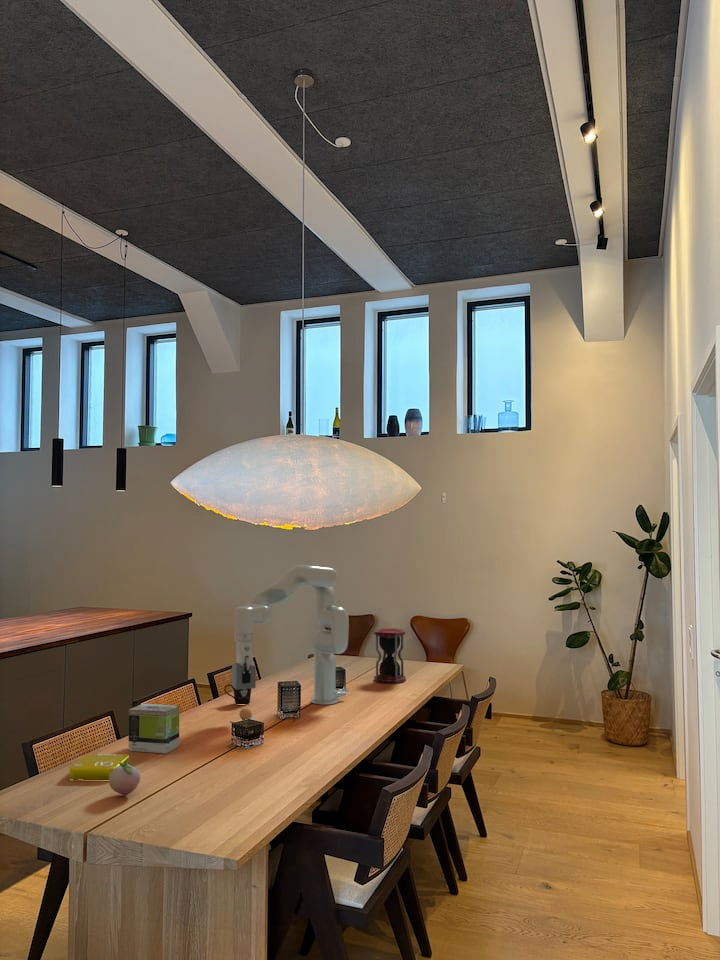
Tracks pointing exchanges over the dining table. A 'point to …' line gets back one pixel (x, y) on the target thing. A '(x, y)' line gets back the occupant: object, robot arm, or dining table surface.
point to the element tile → (96, 766)
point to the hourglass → (389, 656)
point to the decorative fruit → (124, 778)
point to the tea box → (154, 728)
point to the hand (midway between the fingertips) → (243, 680)
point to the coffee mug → (240, 695)
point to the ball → (245, 713)
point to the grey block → (237, 677)
